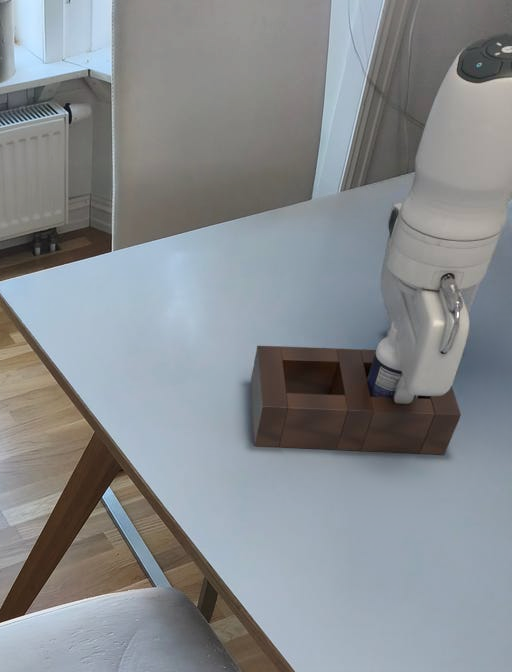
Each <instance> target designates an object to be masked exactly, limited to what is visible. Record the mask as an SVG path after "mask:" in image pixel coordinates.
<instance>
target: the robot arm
mask: <svg viewBox="0 0 512 672" xmlns="http://www.w3.org/2000/svg"><path fill="white" fill-rule="evenodd" d="M408 191H409V192H408V193H407V195H405V198H404V199H403V202H402V203H401V202H400V203H399V202H398V203H394V204H393V205H392V206H391V209H390V212H389V216H388V219H387V224H388V225H387V227H388V231H389V235H388V239H387V243H386V248H385V252H384V258H383V262H382V266H381V272H380V282H379V283H380V292H381V295H382V300H383V303H384V308H385V311H386V315H387V319H388V321H387V322H388V323H387V333H386V337H388V335H389V331H390V328H391V325H392V322H393V321H394V322H395V326H396V330H397V332H396V335H395V342H394V343H395V347H396V351H397V355H398V358H399V362H400V366H401V370H402V374H403V375H402V377H401V379H400V380H396V382H395V385H394V389H393V391H392V392H393V397H394V401H395V403H399V404H409V403H411V402H412V401H413V398H414V396H415V395H419V396H442V395H444V394H445V393H447V392H448V391H449V390H450V388H451V386H452V387H453V384H454V380H455V377H456V375H457V373H458V372H457V371H458V370H459V366H460V364H461V359H462V357H463V353H464V351H465V349H466V348H465V347H466V344H467V340H468V336H469V331H470V316H469V313H468V312H467V309H466V306H465V303H464V301H463V298H462V295H461V294H462V293H463V291H464V289H467V288H470V287H472V286H474V285H476V284H478V283H479V282H480V283H481V282H482V280H483V279H485V277H486V274H487V272H488V269H489V267H490V264H491V262H492V258H493V256H494V253H495V251H496V248H497V246H498V243H499V242H500V241H499V240H500V238H501V236H502V234H503V231H504V228H505V227H506V223H507V219H508V208H509V203H510V201H511V200H512V32H498V33H493V34H491V35H488V36H485V37H482V38H480V39H478V40H476V41H473V42H472V43H470V44H468V45H467V46H466V47H464V48H463V49H462V50H461V51H460V52H459V53H458V55H457V56H456V57H455V59H454V60H453V62H452V63H451V65H450V67H449V68H448V71H447V72H446V74H445V76H444V78H443V79H442V82H441V84H440V87H439V88H438V90H437V93H436V96H435V98H434V100H433V103H432V105H431V109H430V110H429V114H428V117H427V120H426V122H425V125H424V128H423V132H422V135H421V138H420V141H419V145H418V148H417V151H416V154H415V159H414V176H413V182H412V185H411V187H410V189H409V190H408Z"/></svg>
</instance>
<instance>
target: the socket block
mask: <svg viewBox="0 0 512 672" xmlns="http://www.w3.org/2000/svg"><path fill="white" fill-rule="evenodd" d="M375 352H376V349H361V348H359V349H358V348H337V347H336V348H334V347H333V348H332V347H308V346H307V347H306V346H279V345H257V346H256V351H255V356H254V361H253V366H252V372H251V376H250V382H249V390H250V391H249V392H250V402H251V403H250V405H251V416H252V417H251V418H252V432H253V442H254V444H253V445H254V447H265V448H266V447H268V448H289V449H290V448H292V449H311V450H312V449H315V450H335V451H336V450H337V451H357V452H358V451H360V452H361V451H362V452H379V453H380V452H382V453H399V454H400V453H402V454H422V455H441V456H442V455H443V456H444V455H445V454H446V451H447V449H448V447H449V444H450V442H451V440H452V438H453V435H454V433H455V431H456V428H457V425H458V424H459V421H460V420H461V419H460V418H461V416H462V413H461V411H460V407H459V404H458V401H457V398H456V395H455V391H454V388H453V385H452V386H451V388H450V390H449V391H448V392H447V393H445V394H444V395H442V396H419V395H418V398H413V401H412V402H411V403H409V404H399V403H395V401H394V397H370V392H369V388H368V383H367V378H368V375H369V372H370V369H371V365H372V362H373V359H374V355H375Z"/></svg>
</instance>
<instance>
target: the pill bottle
mask: <svg viewBox="0 0 512 672" xmlns="http://www.w3.org/2000/svg"><path fill="white" fill-rule="evenodd" d="M396 332H397V330H396V326H395V322H394V321H393V322H392V325H391V328H390V331H389V335H388V337H387V336H386V337H384V338H383V339H381V341H379V343H378V344H377V346H376V349H375V350H376V352H375V355H374V359H373V362H372V365H371V369H370V372H369V375H368V378H367V383H368V388H369V392H370V397H393V392H392V391H393V389H394V385H395V382H396V380H400V379H401V377H402V375H403V374H402V370H401V366H400V362H399V358H398V355H397V351H396V347H395V343H394V342H395V335H396ZM414 398H418V395H415V396H414Z"/></svg>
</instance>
